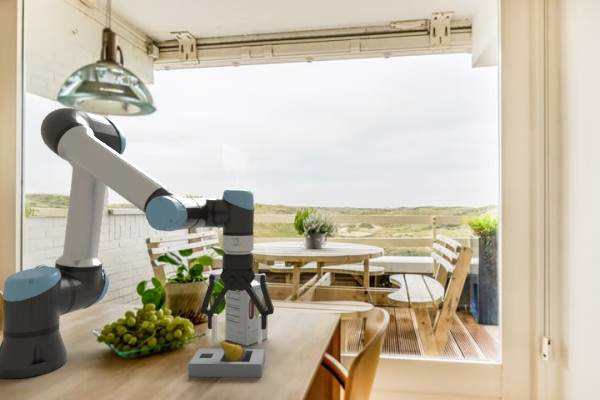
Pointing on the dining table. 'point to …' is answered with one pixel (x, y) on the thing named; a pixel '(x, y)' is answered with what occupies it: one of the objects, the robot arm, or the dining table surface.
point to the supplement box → (243, 316)
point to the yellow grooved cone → (234, 352)
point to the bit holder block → (226, 364)
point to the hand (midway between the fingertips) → (237, 342)
